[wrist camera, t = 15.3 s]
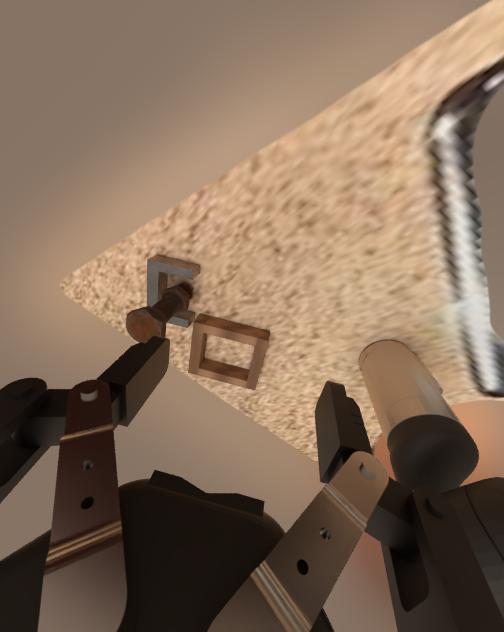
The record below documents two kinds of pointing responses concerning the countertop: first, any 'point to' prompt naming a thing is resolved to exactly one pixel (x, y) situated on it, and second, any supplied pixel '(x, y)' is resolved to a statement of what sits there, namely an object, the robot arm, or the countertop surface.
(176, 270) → the block
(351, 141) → the countertop surface
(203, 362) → the square frame block
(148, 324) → the bolt
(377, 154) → the countertop surface
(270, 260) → the countertop surface
